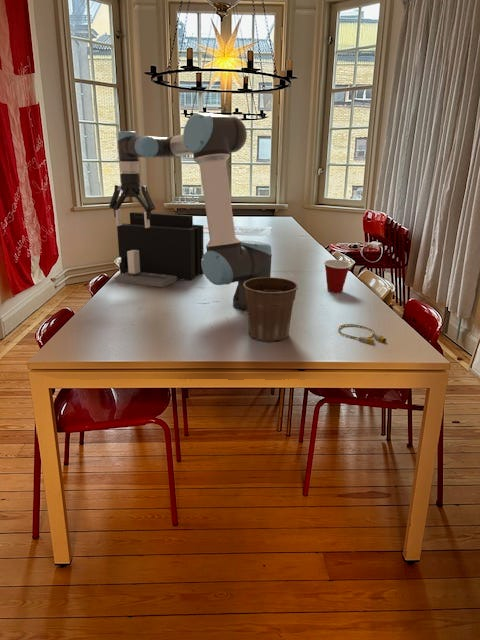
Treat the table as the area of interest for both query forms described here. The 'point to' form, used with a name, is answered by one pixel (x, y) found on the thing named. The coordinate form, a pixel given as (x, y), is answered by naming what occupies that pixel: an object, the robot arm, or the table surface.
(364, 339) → the looped cable
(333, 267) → the plastic cup
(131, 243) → the game console
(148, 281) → the fader panel
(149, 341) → the table surface
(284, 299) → the plant pot
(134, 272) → the fader
